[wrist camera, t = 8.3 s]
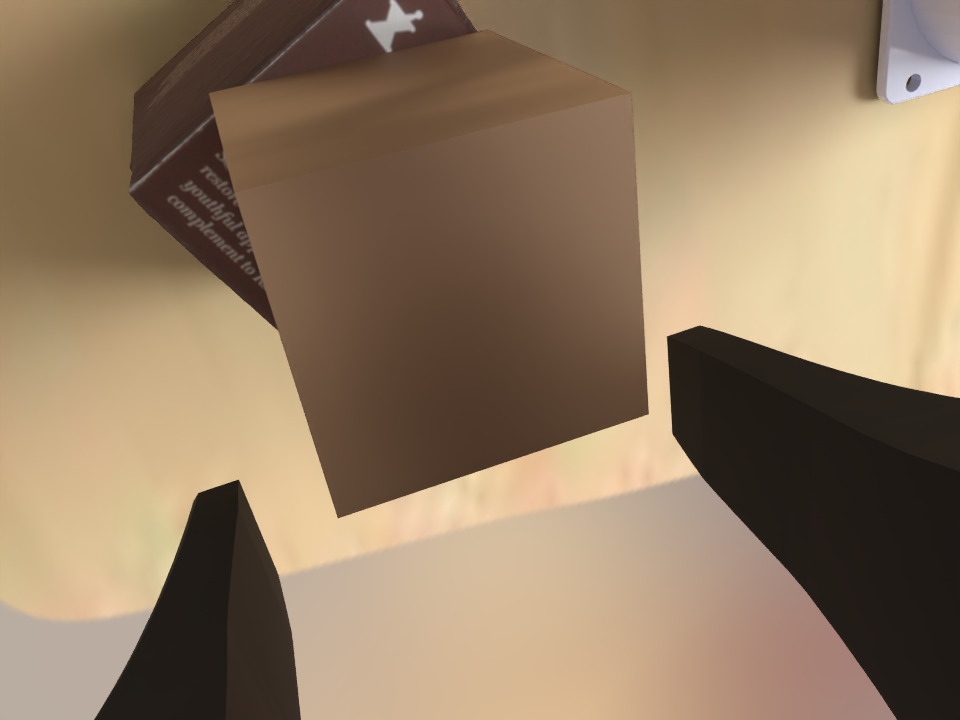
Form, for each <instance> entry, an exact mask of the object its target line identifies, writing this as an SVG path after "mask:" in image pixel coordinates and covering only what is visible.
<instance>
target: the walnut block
mask: <svg viewBox="0 0 960 720" xmlns="http://www.w3.org/2000/svg"><path fill="white" fill-rule="evenodd" d="M209 96H210V100H211V103H212V107H213V111H214V115H215V119H216V123H217V127H218V131H219V135H220V139H221V142H222V146H223V150H224V154H225V158H226V162H227V166H228V170H229V174H230V178H231V181H232V185H233V189H234V193H235V196H236V199H237V202H238V206H239V209H240V212H241V215H242V218H243V221H244V224H245V228H246V231H247V234H248V237H249V240H250V243H251V246H252V250H253V253H254V256H255V259H256V262H257V265H258V268H259V272H260V275H261V278H262V281H263V284H264V287H265V290H266V294H267V297H268V300H269V303H270V306H271V309H272V312H273V316H274V319H275V322H276V325H277V328H278V331H279V334H280V338H281V341H282V344H283V347H284V350H285V353H286V356H287V360H288V363H289V366H290V369H291V372H292V375H293V378H294V382H295V385H296V388H297V391H298V394H299V397H300V400H301V404H302V407H303V410H304V413H305V416H306V419H307V422H308V426H309V429H310V432H311V435H312V438H313V441H314V444H315V448H316V451H317V454H318V457H319V460H320V463H321V466H322V470H323V473H324V476H325V479H326V482H327V485H328V488H329V492H330V495H331V498H332V501H333V504H334V507H335V510H336V514H337V517H338V518H340V517H343V516H346V515H349V514H352V513H355V512H358V511H361V510H364V509H367V508H370V507H373V506H376V505H379V504H382V503H385V502H388V501H391V500H394V499H397V498H400V497H403V496H406V495H409V494H412V493H415V492H418V491H421V490H424V489H427V488H430V487H433V486H436V485H439V484H442V483H445V482H448V481H451V480H454V479H457V478H460V477H463V476H466V475H469V474H472V473H475V472H478V471H481V470H484V469H487V468H489V467H492V466H495V465H498V464H501V463H504V462H507V461H510V460H513V459H516V458H519V457H522V456H525V455H528V454H531V453H534V452H537V451H540V450H543V449H546V448H549V447H552V446H555V445H558V444H561V443H564V442H567V441H570V440H573V439H576V438H579V437H582V436H585V435H588V434H591V433H594V432H597V431H600V430H603V429H606V428H609V427H612V426H615V425H618V424H621V423H624V422H627V421H630V420H633V419H636V418H639V417H642V416H645V415H648V414H649V411H648V393H647V374H646V355H645V337H644V318H643V299H642V281H641V262H640V243H639V224H638V206H637V187H636V168H635V150H634V131H633V112H632V94H631V92H628V91H626V90H624V89H622V88H619V87H617V86H615V85H612V84H610V83H608V82H606V81H603V80H601V79H599V78H596V77H594V76H592V75H590V74H587V73H585V72H583V71H580V70H578V69H576V68H574V67H571V66H569V65H567V64H564V63H562V62H560V61H558V60H555V59H553V58H551V57H548V56H546V55H544V54H542V53H539V52H537V51H535V50H532V49H530V48H528V47H526V46H523V45H521V44H519V43H516V42H514V41H512V40H509V39H507V38H505V37H503V36H500V35H498V34H496V33H493V32H491V31H489V30H485V31H481V32H476V33H472V34H467V35H463V36H459V37H455V38H450V39H446V40H442V41H437V42H433V43H428V44H424V45H420V46H415V47H411V48H406V49H402V50H397V51H393V52H388V53H384V54H379V55H375V56H370V57H366V58H362V59H357V60H353V61H348V62H344V63H340V64H335V65H331V66H326V67H322V68H317V69H313V70H309V71H304V72H300V73H295V74H291V75H287V76H282V77H278V78H273V79H269V80H264V81H260V82H256V83H251V84H247V85H242V86H238V87H234V88H229V89H225V90H220V91H216V92H212V93H209Z"/></svg>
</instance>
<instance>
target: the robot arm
mask: <svg viewBox="0 0 960 720" xmlns="http://www.w3.org/2000/svg"><path fill="white" fill-rule="evenodd" d="M910 76H911V81H910V83H909V85H908V86H907V87H906V83H907V80H908V79H909V77H910ZM957 85H960V0H883V9H882V22H881V35H880V48H879V61H878V74H877V87H876V91H877V96H878V98H879V100H881V101H883V102H886V103H889V104H898V103H901V102H904V101H907V100H911V99H914V98H917V97H921V96H924V95H927V94H931V93H934V92H937V91H941V90H944V89H947V88H951V87H954V86H957ZM667 344H668V362H669V380H670V397H671V415H672V433H673V435H674V437H675V438H676V440H677V441H678V443H679V444H680V446H681V447H682V449H683V450H684V452H685V453H686V455H687V456H688V458H689V459H690V461H691V462H692V463H693V465H694V466H695V468H696V469H697V470H698V472H699V473H700V475H701V476H702V477H703V479H704V480H705V481H706V482H707V483H708V484H709V486H710V487H711V488H712V489H713V490H714V491H715V492H716V493H717V494H718V496H719V497H720V498H721V499H722V500H723V501H724V502H725V503H726V504H727V505H728V507H729V508H730V509H731V510H732V511H733V512H734V513H735V514H736V515H737V516H738V517H739V518H740V519H741V521H742V522H743V523H744V524H745V525H746V526H747V527H748V528H749V529H750V530H751V531H752V532H753V533H754V534H755V536H756V537H757V538H758V539H759V540H760V541H761V542H762V543H763V544H764V545H765V546H766V547H767V548H768V549H769V551H770V552H771V553H772V554H773V555H774V556H775V557H776V558H777V559H778V560H779V561H780V562H781V563H782V564H783V565H784V567H785V568H786V569H787V570H788V571H789V572H790V573H791V574H792V576H793V577H794V578H795V579H796V580H797V581H798V583H799V584H800V585H801V586H802V587H803V589H805V591H806V592H807V593H808V595H809V596H810V597H811V599H812V600H813V601H814V603H815V604H816V605H817V607H818V608H819V609H820V611H821V612H822V613H823V615H824V616H825V617H826V619H827V620H828V621H829V623H830V624H831V625H832V627H833V628H834V629H835V631H836V632H837V633H838V635H839V636H840V637H841V639H842V640H843V642H844V643H845V645H846V646H847V647H848V649H849V650H850V652H851V653H852V654H853V656H854V657H855V659H856V660H857V662H858V663H859V664H860V666H861V667H862V668H863V670H864V671H865V673H866V674H867V676H868V677H869V678H870V680H871V681H872V683H873V684H874V686H875V687H876V688H877V690H878V691H879V693H880V695H881V696H882V697H883V699H884V701H885V702H886V704H887V705H888V707H889V708H890V710H891V711H892V713H893V714H894V716H895V717H896V719H897V720H960V398H955V397H949V396H944V395H939V394H934V393H929V392H924V391H919V390H914V389H909V388H904V387H900V386H896V385H892V384H887V383H883V382H879V381H876V380H872V379H868V378H865V377H861V376H857V375H854V374H850V373H846V372H843V371H839V370H836V369H833V368H830V367H826V366H823V365H820V364H817V363H813V362H810V361H807V360H804V359H801V358H798V357H795V356H792V355H789V354H786V353H783V352H780V351H777V350H774V349H771V348H768V347H766V346H763V345H760V344H757V343H754V342H751V341H748V340H745V339H742V338H739V337H736V336H733V335H730V334H727V333H724V332H721V331H718V330H714V329H711V328H707V327H704V326H697V327H694V328H691V329H688V330H685V331H682V332H679V333H676V334H673V335H670V336H667ZM94 720H301V717H300V707H299V697H298V687H297V677H296V668H295V658H294V650H293V640H292V632H291V627H290V623H289V618H288V614H287V610H286V605H285V601H284V597H283V592H282V588H281V584H280V579H279V575H278V573H277V570H276V568H275V566H274V563H273V561H272V558H271V556H270V554H269V551H268V549H267V546H266V544H265V542H264V539H263V537H262V534H261V532H260V530H259V527H258V525H257V522H256V520H255V518H254V515H253V513H252V510H251V508H250V506H249V503H248V501H247V498H246V496H245V494H244V491H243V489H242V486H241V484H240V482H239V480H236V481H233V482H230V483H227V484H224V485H221V486H218V487H215V488H212V489H209V490H206V491H203V492H200V493H198V495H197V496H196V498H195V500H194V502H193V505H192V508H191V512H190V515H189V518H188V521H187V524H186V527H185V530H184V533H183V536H182V539H181V542H180V545H179V547H178V550H177V553H176V556H175V559H174V561H173V564H172V566H171V569H170V571H169V574H168V576H167V579H166V581H165V584H164V586H163V588H162V591H161V593H160V596H159V598H158V601H157V603H156V605H155V607H154V610H153V612H152V614H151V616H150V618H149V620H148V622H147V624H146V626H145V629H144V631H143V633H142V635H141V637H140V639H139V641H138V643H137V645H136V647H135V649H134V651H133V653H132V655H131V657H130V659H129V661H128V663H127V665H126V666H125V668H124V670H123V672H122V674H121V676H120V677H119V679H118V681H117V683H116V685H115V686H114V688H113V690H112V691H111V693H110V695H109V697H108V698H107V700H106V701H105V703H104V705H103V706H102V708H101V710H100V711H99V713H98V714H97V716H96V718H95V719H94Z"/></svg>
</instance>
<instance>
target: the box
mask: <svg viewBox="0 0 960 720" xmlns="http://www.w3.org/2000/svg"><path fill="white" fill-rule="evenodd" d="M476 32H477V30H476V29H475V27H474V26H473V25H472V23H471V22H470V20H469V19H468V17H467V16H466V15H465V13H464V11H463V10H462V8H461V7H460V5H459V4H458V2H457V1H456V0H236V1H235V2H234V3H233V4H231V5H230V6H229V7H228V8H227V9H226V10H225V11H224V12H223V13H222V14H221V15H219V16H218V17H217V18H216V19H215V20H214V21H212V22H211V23H210V24H209V25H208V26H207V27H206V28H205V29H204V30H203V31H202V32H201V33H200V34H199V35H197V36H196V37H195V38H194V39H193V40H192V41H191V42H190V43H189V44H187V45H186V46H185V47H184V48H183V49H182V50H181V51H180V52H179V53H178V54H177V55H176V56H175V57H174V58H173V59H171V60H170V61H169V62H168V63H167V64H166V65H165V66H164V67H163V68H162V69H161V70H160V71H158V72H157V73H156V74H155V75H154V76H153V77H152V78H151V79H150V80H149V81H148V82H147V83H146V84H145V85H144V86H143V87H141V88H140V89H139V90H138V91H137V92H136V93H135V95H134V117H133V134H132V140H133V142H132V143H133V144H132V157H131V164H130V169H131V171H132V176H131V182H130V188H129V193H130V195H131V196H132V197H133V198H134V199H135V201H136V202H137V203H138V204H139V205H140V206H141V207H142V208H143V209H144V210H145V211H146V212H147V213H148V214H149V215H150V216H151V217H152V218H153V219H155V220H156V221H157V222H158V223H159V224H160V225H161V226H162V227H163V228H164V229H165V230H166V231H167V232H169V233H170V234H171V235H172V236H173V237H174V238H175V239H176V240H177V241H178V242H180V243H181V244H182V245H183V246H184V247H185V248H186V249H187V250H188V251H189V252H190V253H192V254H193V255H194V256H195V257H196V258H197V259H198V260H199V261H200V262H201V263H202V264H203V265H204V266H206V267H207V268H208V269H209V270H210V271H212V272H213V273H214V274H215V275H216V276H217V277H218V278H219V279H221V280H222V281H223V282H224V283H225V284H226V285H227V286H229V287H230V288H231V289H232V290H233V291H234V292H235V293H236V294H237V295H238V296H239V297H241V298H242V299H243V300H244V301H245V302H246V303H248V304H249V305H250V306H251V307H252V308H253V309H255V310H256V311H257V312H258V313H259V314H260V315H261V316H262V317H263V318H264V319H266V320H267V321H268V322H269V323H270V324H271V325H272V326H273V327H275V328H276V329H277V330H278V328H277V325H276V322H275V319H274V316H273V312H272V309H271V306H270V303H269V300H268V297H267V294H266V290H265V287H264V284H263V281H262V278H261V275H260V272H259V268H258V265H257V262H256V259H255V256H254V253H253V250H252V246H251V243H250V240H249V237H248V234H247V231H246V228H245V224H244V221H243V218H242V215H241V212H240V209H239V206H238V202H237V199H236V196H235V193H234V189H233V185H232V181H231V178H230V174H229V170H228V166H227V162H226V158H225V154H224V150H223V146H222V142H221V139H220V135H219V131H218V127H217V123H216V119H215V115H214V111H213V107H212V103H211V100H210V96H209V93H212V92H216V91H220V90H225V89H229V88H234V87H238V86H242V85H247V84H251V83H256V82H260V81H264V80H269V79H273V78H278V77H282V76H287V75H291V74H295V73H300V72H304V71H309V70H313V69H317V68H322V67H326V66H331V65H335V64H340V63H344V62H348V61H353V60H357V59H362V58H366V57H370V56H375V55H379V54H384V53H388V52H393V51H397V50H402V49H406V48H411V47H415V46H420V45H424V44H428V43H433V42H437V41H442V40H446V39H450V38H455V37H459V36H463V35H467V34H472V33H476Z"/></svg>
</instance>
